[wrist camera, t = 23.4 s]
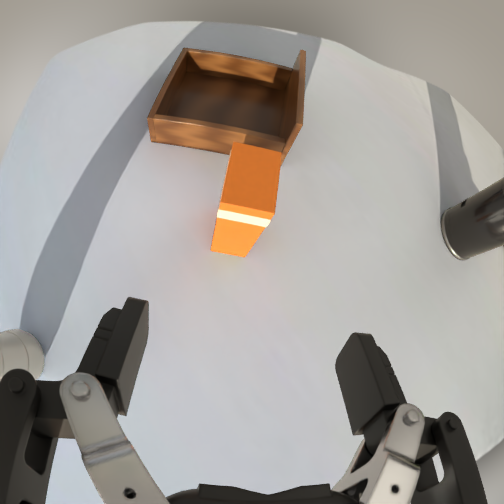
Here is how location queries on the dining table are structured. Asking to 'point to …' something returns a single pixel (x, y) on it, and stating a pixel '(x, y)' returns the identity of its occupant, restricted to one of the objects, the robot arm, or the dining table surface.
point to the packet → (246, 198)
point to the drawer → (229, 103)
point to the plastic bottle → (20, 353)
